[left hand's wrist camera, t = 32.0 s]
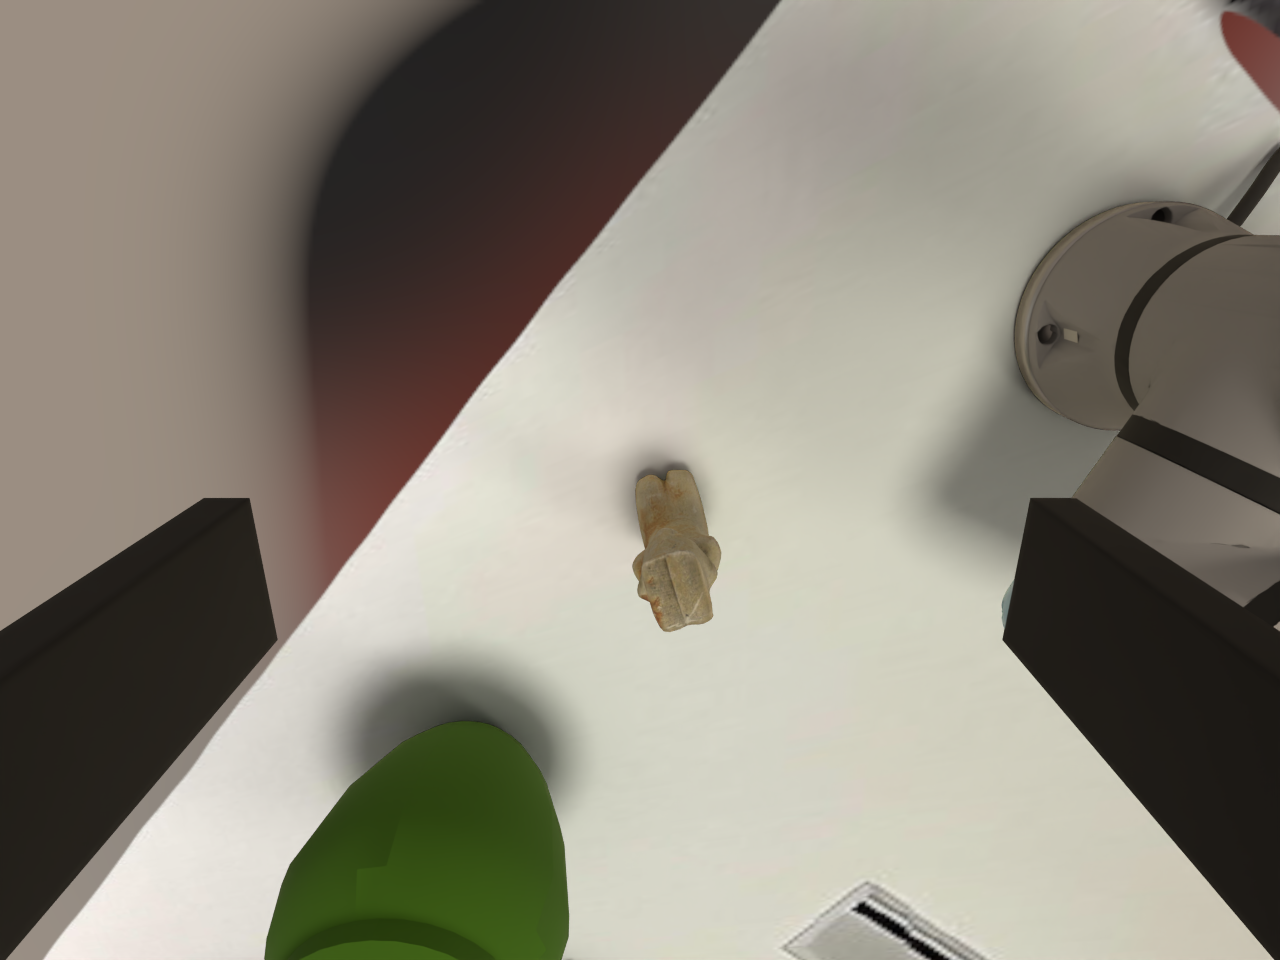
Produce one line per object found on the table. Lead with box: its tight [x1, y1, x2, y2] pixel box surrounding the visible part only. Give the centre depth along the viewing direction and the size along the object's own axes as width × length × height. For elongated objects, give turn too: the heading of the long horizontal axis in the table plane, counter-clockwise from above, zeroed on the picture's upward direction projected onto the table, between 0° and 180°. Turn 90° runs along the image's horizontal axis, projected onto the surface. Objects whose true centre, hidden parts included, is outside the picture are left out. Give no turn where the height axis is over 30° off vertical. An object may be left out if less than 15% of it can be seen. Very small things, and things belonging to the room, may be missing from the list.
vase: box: [264, 721, 569, 960], centre depth 53 cm, size 20×20×24 cm
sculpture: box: [632, 470, 721, 632], centre depth 49 cm, size 6×7×15 cm
